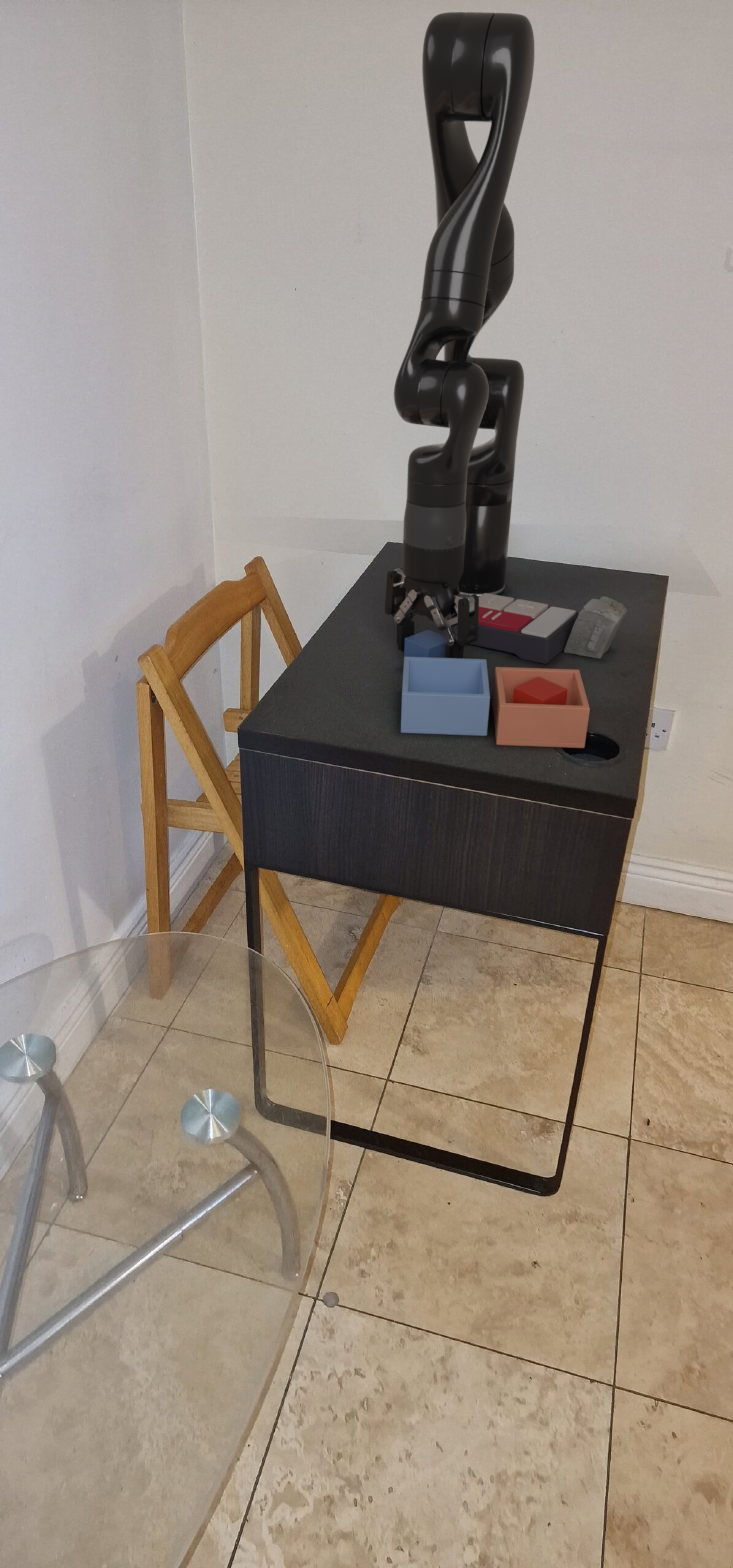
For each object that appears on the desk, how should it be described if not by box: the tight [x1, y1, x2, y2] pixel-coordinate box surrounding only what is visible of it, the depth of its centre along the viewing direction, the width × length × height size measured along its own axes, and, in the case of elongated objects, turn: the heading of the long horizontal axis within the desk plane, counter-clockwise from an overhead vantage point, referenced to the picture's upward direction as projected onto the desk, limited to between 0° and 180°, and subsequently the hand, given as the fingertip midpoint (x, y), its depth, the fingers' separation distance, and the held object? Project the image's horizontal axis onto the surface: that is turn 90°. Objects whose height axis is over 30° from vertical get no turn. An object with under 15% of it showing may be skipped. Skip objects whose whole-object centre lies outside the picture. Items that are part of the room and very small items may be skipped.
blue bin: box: [400, 656, 491, 737], centre depth 121 cm, size 10×10×5 cm
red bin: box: [491, 666, 591, 749], centre depth 119 cm, size 10×10×5 cm
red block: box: [513, 677, 568, 705], centre depth 119 cm, size 4×4×4 cm
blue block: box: [403, 629, 447, 658], centre depth 132 cm, size 4×4×4 cm
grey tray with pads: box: [447, 593, 579, 665], centre depth 141 cm, size 11×4×15 cm
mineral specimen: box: [563, 596, 628, 660], centre depth 136 cm, size 7×9×8 cm
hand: (428, 659), depth 132 cm, fingers open, 8 cm apart
